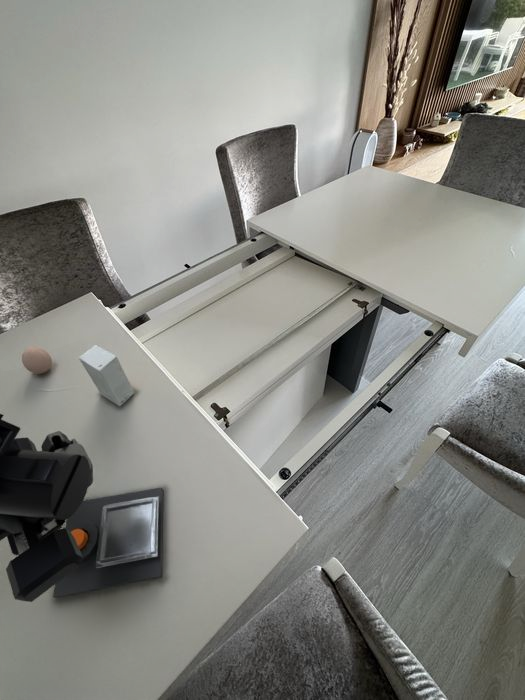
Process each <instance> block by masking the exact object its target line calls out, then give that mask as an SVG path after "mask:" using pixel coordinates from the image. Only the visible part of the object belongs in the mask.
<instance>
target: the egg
mask: <svg viewBox="0 0 525 700" xmlns="http://www.w3.org/2000/svg"><path fill="white" fill-rule="evenodd" d="M21 362H22V365H23V367H25V369H26V370H27V371H29V372H30V373H32V374H39V375H40V374H45V373H46V372H48V371H49V370H50V368H51V367H52V364H53V359H52V357H51V355H50V353H48V352H47V350H45V349H44V348H42V347H38V346H29V347H26V349H24V351H23V352H22V355H21Z"/></svg>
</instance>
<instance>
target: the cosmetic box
mask: <svg viewBox="0 0 525 700" xmlns="http://www.w3.org/2000/svg"><path fill="white" fill-rule="evenodd" d="M78 360H79V361H80V363H81V364H82V366H83V368H84V369H85V371H86V373H87V374H88V376H89V377H90V379H91V380H92V382H93V384H94V385H95V387H96V389H97V391H98V392H99V393H100V395H102V396H103V397H105V398H106V399H107V400H109V401H111V402H112V403H114V404H115V405H117V406H119V407H121V406H123V404H125V402H126V401H128V400H129V399H130V398H131V397H132V396H133V395H134V394H135V391H134V388H133V387H132V385H131V382H130V381H129V379H128V376H127V375H126V373H125V371H124V368H123V366H122V364H121V362H120V361H119V358H118V357H117V355H115V354H114V353H112V352H109V351H108V350H106V349H104V348H103V347H100V346H99V345H97V344H94V345H93V346H91V347H90V348H89V349H88V350H87V351H85V352H84V353H83V354H82V355H80V356H79V357H78Z"/></svg>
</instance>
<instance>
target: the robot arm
mask: <svg viewBox="0 0 525 700" xmlns="http://www.w3.org/2000/svg"><path fill="white" fill-rule="evenodd" d="M3 417H4V414H2V413H0V542H1V541H2V540H4V539H5V538H6V539H7V541H8V545H9V548H10V551H11V553H12V555H14V556H16V557H14V558H12V559H11V560H10V561H9V563H8V564H7V566H6V568H5V571H6V575H7V577H8V581H9V584H10V585H9V586H10V588H11V591H12V595H13V598H14V600H15V601H16V600H17V601H20V602H21V601H22V602H28V603H33V601H35V600H36V599H38V598H39V597H40V596H41V595H43V594H45V592H47V591H49V590H50V589H51V588H53V586H54V587H55V584H56V583H58V582H59V581H60V580H61V579H63V578H64V577H65V576H67V575H68V574H69V573H71V572H72V571H73V570H75V569H76V568H77V567H79V566H80V564H81V561H82V559H83V556H82V554H81V552H80V549H79V547H78V545H77V542H76V540H75V538H74V536H73V535H72V533H71V532H70V531H69V530H68V529H66V527H64V528H63V526H64V524H65V522H66V521H67V519H68V518H70V517H71V516H72V515H73V514H74V513H75V512H76V511H77V510H78V508H79V507H80V505H81V503H82V502H83V501H85V500H84V499H85V497H86V496H87V492H88V489H89V488H90V487H91V486H92V484H93V482H94V467H93V461H91V458H90V456H89V455H88V452H87V451H86V449H85V446H83V445H82V444H81V443H79V442H78V441H77V440H76V438H72V439H71V440H70V438H68V435H66V434H65V433H63V432H62V431H59V430H57V431H55V432H52V433H48V434H47V435H46V437H45V438H44V440H43V442H42V444H41V450H38V448H37V447H36V445H35V443H34V442H33V441H32V440H31V439H30V438H29V437H17V436H18V434H19V433H20V432H21V427H20V426H17V425H15V424H13V423H11V422H8V421H6V420H4V419H3Z"/></svg>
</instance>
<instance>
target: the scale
mask: <svg viewBox="0 0 525 700" xmlns="http://www.w3.org/2000/svg"><path fill="white" fill-rule="evenodd" d="M164 496H165V490H164V488H163V487H156V488H150V489H145V490H139V491H133V492H128V493H122V494H116V495H115V494H114V495H110V496H105V497H104V496H103V497H98V498H93V499H86V500H83V502H82V503H81V505H80V507H79V508H78V510H77V511H76V512H75V513H74V514H73V515H72V516H71V517H70V518H68V519H66V523H65V528H66V529H68V530H69V531H70V532H72V531H73V530H76V529H81V530H82V531H84V532H85V533H87V535H88V541H87V543H86V545H85V546H84V547H83V548H82V549H80V552H81V554H82V556H83V559H82V561H81V564H80V566H79V567H77V568H76V569H75V570H73V571H72V572H71V573H69V574H68V575H67V576H65V577H64V578H63V579H61V580H60V581H59V582H58V583H56V584H55V585H54V589H53V595H52V598H53V599H61V598H62V599H63V598H66V597H67V598H68V597H72V596H77V595H78V596H79V595H82V594H88V593H92V592H98V591H102V590H108V589H112V588H117V587H122V586H123V587H124V586H127V585H128V586H129V585H133V584H138V583H143V582H148V581H154V580H158V579H162V578H163V573H164V571H163V569H164V558H163V557H164V500H165V499H164ZM150 497H152V498H153V497H159V518H158V557H154V558H149V559H144V560H139V561H133V562H128V563H123V564H118V565H112V566H107V567H102V568H96V565H97V563H96V559H97V551H98V543H99V535H100V527H101V518H102V510H103V507H104V506H106V505H109V504H115V503H121V502H126V501H132V500H138V499H144V498H150Z"/></svg>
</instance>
